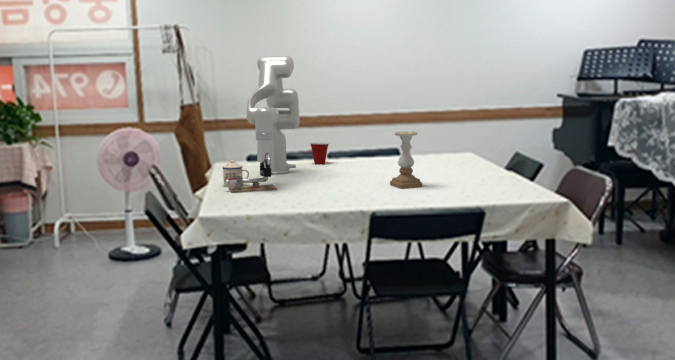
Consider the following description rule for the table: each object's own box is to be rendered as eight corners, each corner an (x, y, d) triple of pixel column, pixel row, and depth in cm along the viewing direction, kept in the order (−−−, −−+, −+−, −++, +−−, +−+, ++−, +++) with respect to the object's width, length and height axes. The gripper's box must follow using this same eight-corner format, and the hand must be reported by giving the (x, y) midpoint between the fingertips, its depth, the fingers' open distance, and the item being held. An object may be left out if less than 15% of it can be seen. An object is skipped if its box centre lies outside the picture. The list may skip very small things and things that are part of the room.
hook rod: (270, 180, 304) (270, 169, 303) (272, 182, 300) (272, 170, 299) (224, 183, 299) (223, 172, 298) (225, 185, 294) (225, 173, 293)
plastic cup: (333, 163, 375) (333, 141, 373) (322, 165, 366) (322, 143, 364) (317, 162, 380) (316, 140, 378) (306, 164, 371) (305, 142, 369)
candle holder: (389, 185, 305) (389, 132, 301) (410, 183, 310) (410, 130, 306) (401, 188, 295) (401, 134, 291) (422, 186, 300) (423, 132, 296)
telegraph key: (272, 186, 308) (272, 170, 306) (277, 189, 298) (276, 174, 297) (228, 189, 302) (227, 173, 301) (231, 193, 293) (231, 177, 291)
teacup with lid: (221, 187, 306) (220, 162, 304) (224, 183, 315) (223, 159, 313) (248, 187, 307) (247, 161, 305) (250, 183, 315) (249, 158, 314)
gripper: (252, 135, 305) (253, 173, 308) (259, 139, 289) (260, 178, 291) (269, 134, 307) (270, 172, 310) (276, 138, 291) (277, 177, 293)
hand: (265, 175), depth 301 cm, fingers open, 9 cm apart
